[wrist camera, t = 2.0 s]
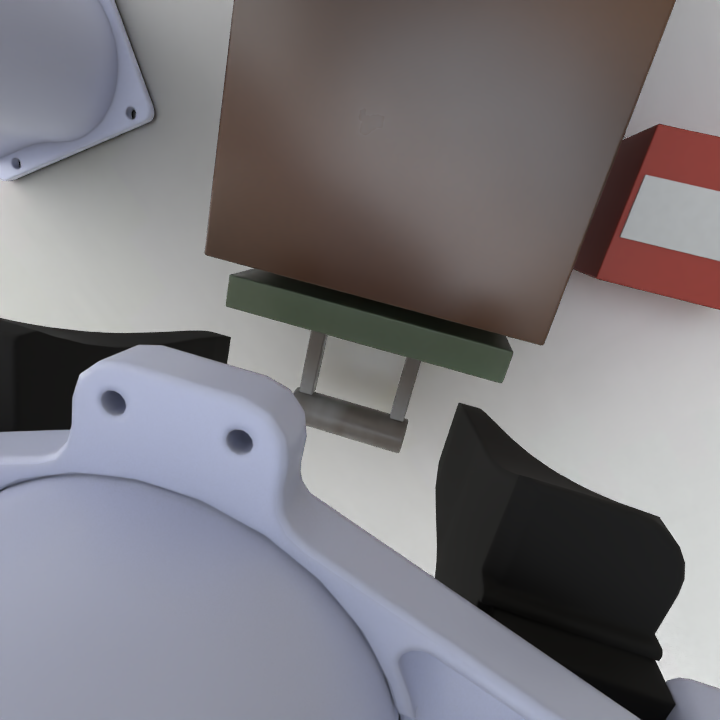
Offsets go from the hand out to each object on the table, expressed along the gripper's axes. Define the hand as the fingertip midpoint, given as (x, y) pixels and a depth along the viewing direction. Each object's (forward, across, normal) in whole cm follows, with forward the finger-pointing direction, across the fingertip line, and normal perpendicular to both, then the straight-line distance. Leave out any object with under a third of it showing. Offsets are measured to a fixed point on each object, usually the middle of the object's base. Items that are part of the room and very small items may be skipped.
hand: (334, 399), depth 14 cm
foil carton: (+9, -10, -8) cm, 16 cm away
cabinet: (+9, 0, -10) cm, 13 cm away
